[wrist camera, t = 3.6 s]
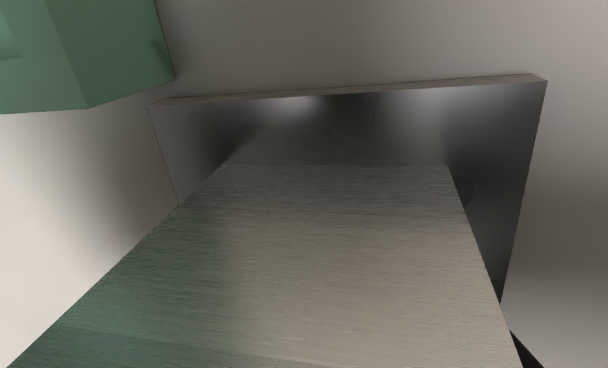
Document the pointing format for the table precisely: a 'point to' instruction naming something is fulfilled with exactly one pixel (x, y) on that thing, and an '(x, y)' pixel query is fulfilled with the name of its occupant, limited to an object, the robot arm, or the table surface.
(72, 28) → the tray
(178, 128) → the stud plate
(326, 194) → the grey metal cube
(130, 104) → the table surface
